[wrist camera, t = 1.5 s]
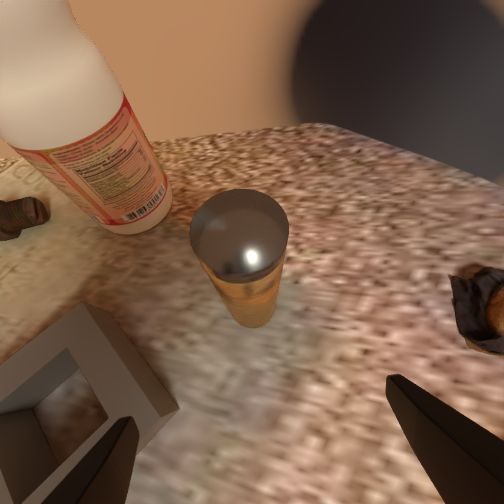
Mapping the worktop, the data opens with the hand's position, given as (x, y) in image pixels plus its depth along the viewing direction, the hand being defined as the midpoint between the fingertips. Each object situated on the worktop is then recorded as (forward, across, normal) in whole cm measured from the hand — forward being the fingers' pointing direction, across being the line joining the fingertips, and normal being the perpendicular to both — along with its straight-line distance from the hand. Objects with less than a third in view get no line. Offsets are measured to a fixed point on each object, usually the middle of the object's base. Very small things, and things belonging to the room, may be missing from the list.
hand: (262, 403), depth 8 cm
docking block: (+9, +15, +9) cm, 20 cm away
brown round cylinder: (+14, 0, +4) cm, 15 cm away
